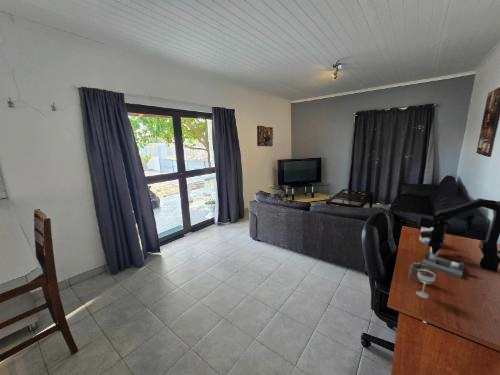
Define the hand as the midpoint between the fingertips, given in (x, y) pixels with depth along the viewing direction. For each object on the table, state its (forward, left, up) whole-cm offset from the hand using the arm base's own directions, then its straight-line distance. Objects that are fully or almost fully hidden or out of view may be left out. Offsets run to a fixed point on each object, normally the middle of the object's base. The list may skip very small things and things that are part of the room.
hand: (434, 252), depth 137 cm
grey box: (+2, +38, -2) cm, 38 cm away
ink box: (+6, -16, -2) cm, 17 cm away
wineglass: (-2, +49, -2) cm, 49 cm away
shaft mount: (-5, +13, -2) cm, 14 cm away
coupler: (0, 0, -2) cm, 2 cm away
